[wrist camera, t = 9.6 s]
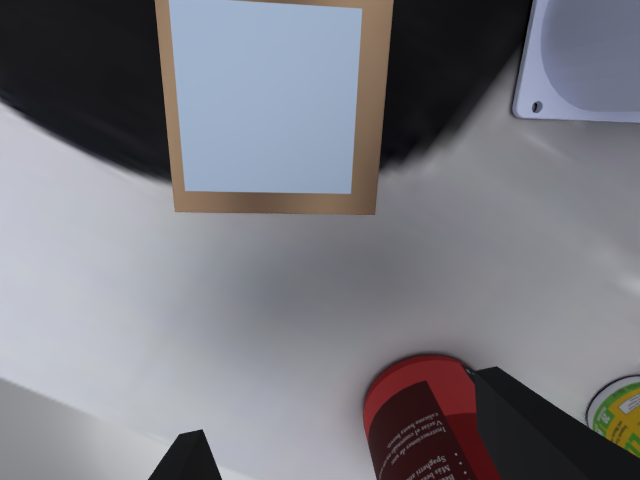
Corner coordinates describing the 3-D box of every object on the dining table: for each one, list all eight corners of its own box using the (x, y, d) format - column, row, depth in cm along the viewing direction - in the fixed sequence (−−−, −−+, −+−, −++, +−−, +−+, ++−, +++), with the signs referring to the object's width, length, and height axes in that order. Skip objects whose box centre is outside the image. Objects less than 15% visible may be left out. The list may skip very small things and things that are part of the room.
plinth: (383, 0, 16) (395, -14, 14) (367, 206, 18) (375, 215, 17) (166, -14, 15) (150, -31, 13) (184, 203, 18) (173, 213, 16)
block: (332, 50, 14) (362, 8, 9) (328, 165, 16) (351, 193, 10) (216, 44, 14) (168, -4, 8) (222, 163, 15) (185, 191, 10)
